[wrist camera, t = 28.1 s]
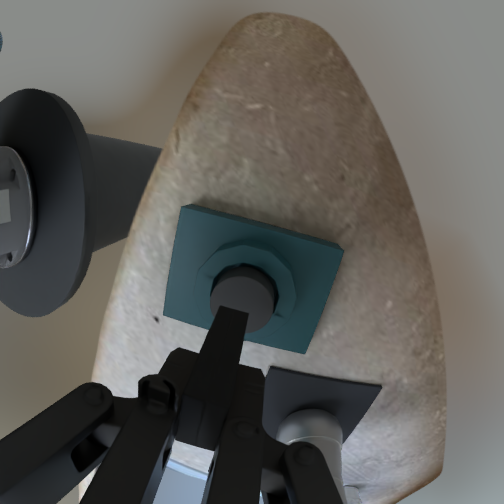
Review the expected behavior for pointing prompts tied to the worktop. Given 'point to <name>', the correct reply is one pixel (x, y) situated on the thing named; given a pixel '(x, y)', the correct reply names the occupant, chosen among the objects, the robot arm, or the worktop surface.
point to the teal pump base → (256, 256)
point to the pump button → (245, 295)
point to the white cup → (352, 495)
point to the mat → (314, 398)
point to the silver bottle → (317, 438)
